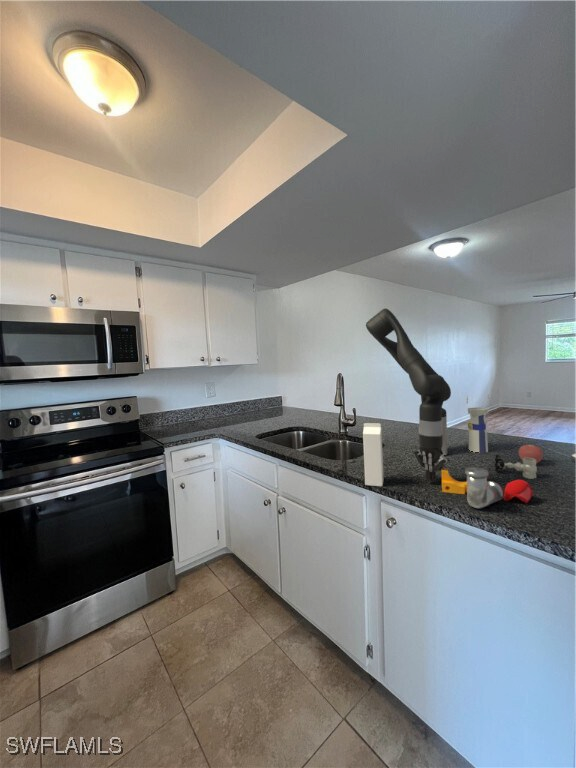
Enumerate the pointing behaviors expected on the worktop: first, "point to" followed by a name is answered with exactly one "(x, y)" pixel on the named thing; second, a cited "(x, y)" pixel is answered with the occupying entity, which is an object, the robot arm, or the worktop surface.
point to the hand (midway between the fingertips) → (430, 480)
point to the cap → (518, 490)
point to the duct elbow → (481, 488)
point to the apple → (531, 452)
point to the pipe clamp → (452, 484)
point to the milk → (373, 454)
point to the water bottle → (477, 429)
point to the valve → (519, 466)
